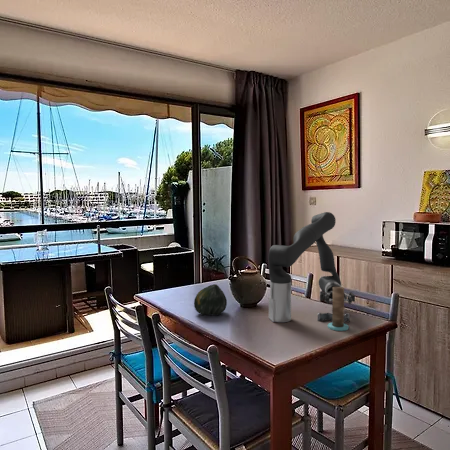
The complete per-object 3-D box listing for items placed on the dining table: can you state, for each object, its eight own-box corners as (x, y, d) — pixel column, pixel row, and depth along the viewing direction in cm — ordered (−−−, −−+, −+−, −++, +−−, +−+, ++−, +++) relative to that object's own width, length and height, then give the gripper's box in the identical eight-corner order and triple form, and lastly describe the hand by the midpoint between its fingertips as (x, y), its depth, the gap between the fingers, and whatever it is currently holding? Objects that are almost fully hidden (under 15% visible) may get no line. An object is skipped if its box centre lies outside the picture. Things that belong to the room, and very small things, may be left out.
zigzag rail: (318, 322, 168) (318, 315, 168) (316, 318, 173) (316, 311, 173) (350, 322, 167) (350, 315, 167) (347, 319, 172) (347, 312, 172)
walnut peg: (335, 327, 159) (335, 289, 158) (330, 324, 163) (330, 286, 162) (345, 326, 160) (346, 288, 158) (340, 323, 164) (340, 286, 163)
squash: (188, 299, 186) (196, 280, 176) (215, 296, 193) (225, 278, 183) (196, 325, 177) (205, 306, 168) (225, 321, 184) (236, 303, 174)
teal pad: (333, 331, 156) (333, 329, 156) (324, 324, 165) (324, 323, 165) (352, 330, 158) (352, 328, 158) (342, 323, 166) (342, 321, 166)
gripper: (318, 282, 175) (321, 291, 159) (350, 283, 173) (357, 292, 157) (317, 298, 176) (321, 309, 160) (350, 299, 174) (357, 310, 158)
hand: (339, 301), depth 159 cm, fingers open, 8 cm apart
